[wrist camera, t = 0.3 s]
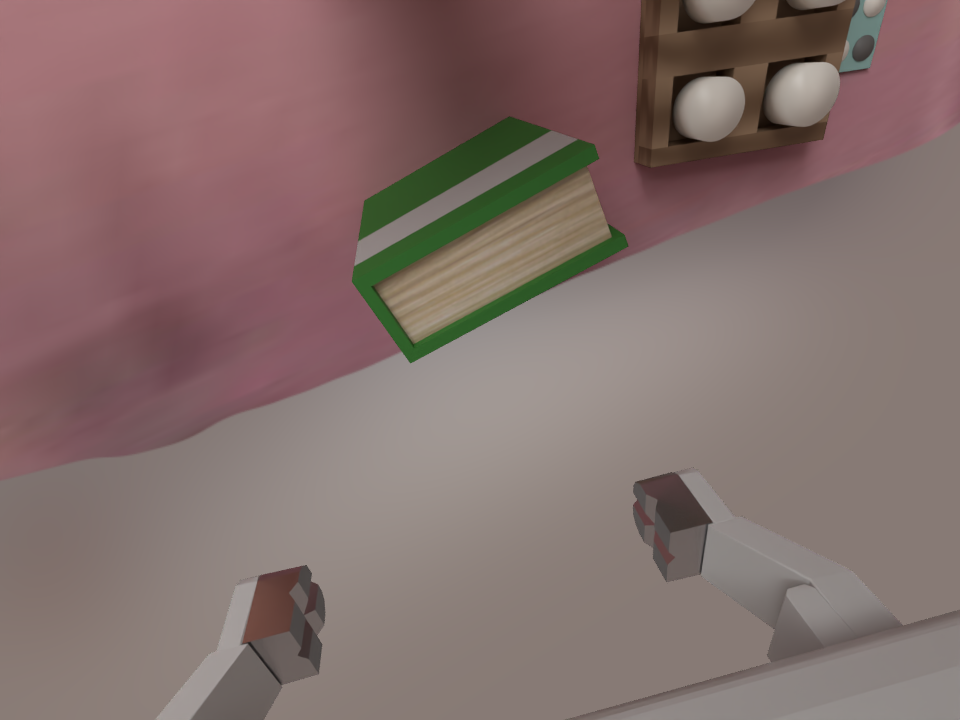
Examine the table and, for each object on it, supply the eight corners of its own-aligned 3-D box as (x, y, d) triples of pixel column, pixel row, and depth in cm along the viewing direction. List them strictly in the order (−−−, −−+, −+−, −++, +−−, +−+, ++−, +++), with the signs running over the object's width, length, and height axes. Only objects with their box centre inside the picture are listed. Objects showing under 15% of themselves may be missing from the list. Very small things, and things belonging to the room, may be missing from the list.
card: (836, -16, 49) (841, -16, 49) (890, -23, 50) (894, -24, 49) (817, 75, 53) (821, 75, 53) (866, 67, 54) (870, 67, 53)
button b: (674, 80, 48) (693, 81, 45) (727, 72, 48) (749, 72, 45) (669, 141, 51) (687, 145, 48) (719, 133, 51) (739, 137, 48)
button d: (768, 66, 49) (792, 66, 46) (819, 59, 49) (846, 58, 46) (758, 127, 52) (780, 130, 49) (806, 120, 52) (831, 122, 49)
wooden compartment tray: (644, -69, 44) (666, -81, 41) (844, -93, 46) (880, -106, 43) (634, 161, 55) (650, 167, 51) (796, 135, 56) (823, 139, 53)
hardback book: (509, 116, 50) (594, 144, 30) (536, 181, 54) (628, 246, 34) (364, 200, 52) (351, 281, 32) (400, 258, 56) (410, 363, 36)
